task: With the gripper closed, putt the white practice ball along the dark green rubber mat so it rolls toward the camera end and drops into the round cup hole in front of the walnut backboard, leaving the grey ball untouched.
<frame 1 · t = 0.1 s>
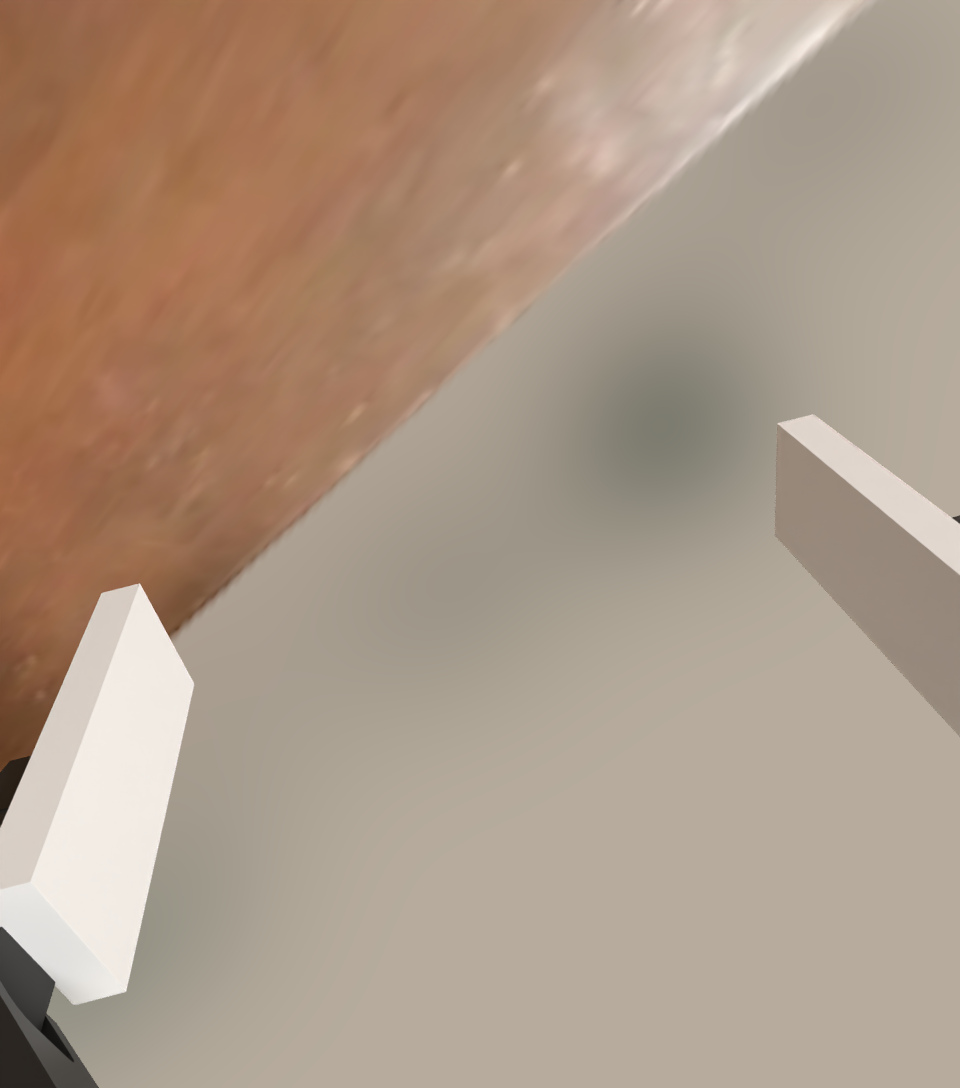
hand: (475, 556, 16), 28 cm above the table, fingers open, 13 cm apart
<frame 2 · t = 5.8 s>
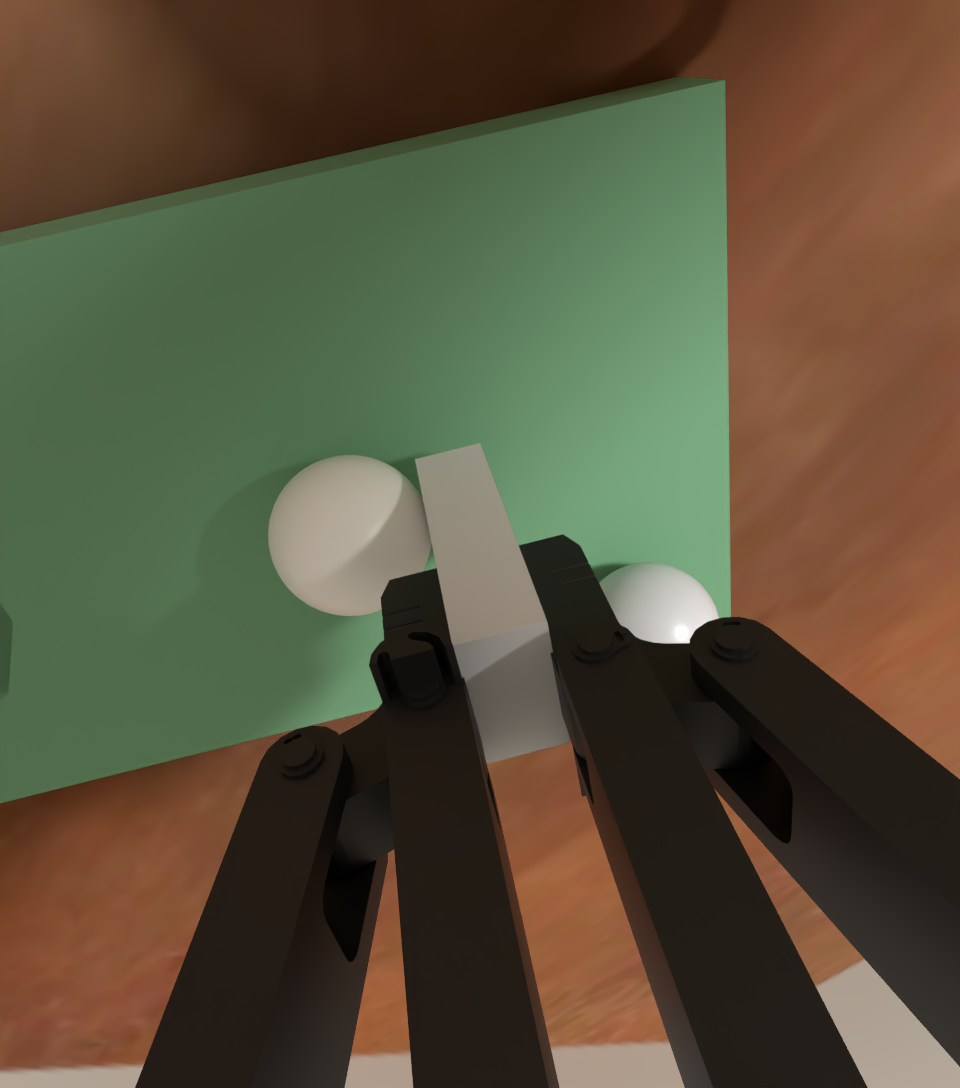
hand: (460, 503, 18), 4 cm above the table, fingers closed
ball: (351, 535, 17), point 4 cm above the table, tilted 48°, touching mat
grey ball: (649, 631, 20), point 4 cm above the table, touching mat
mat: (187, 490, 21), on the table
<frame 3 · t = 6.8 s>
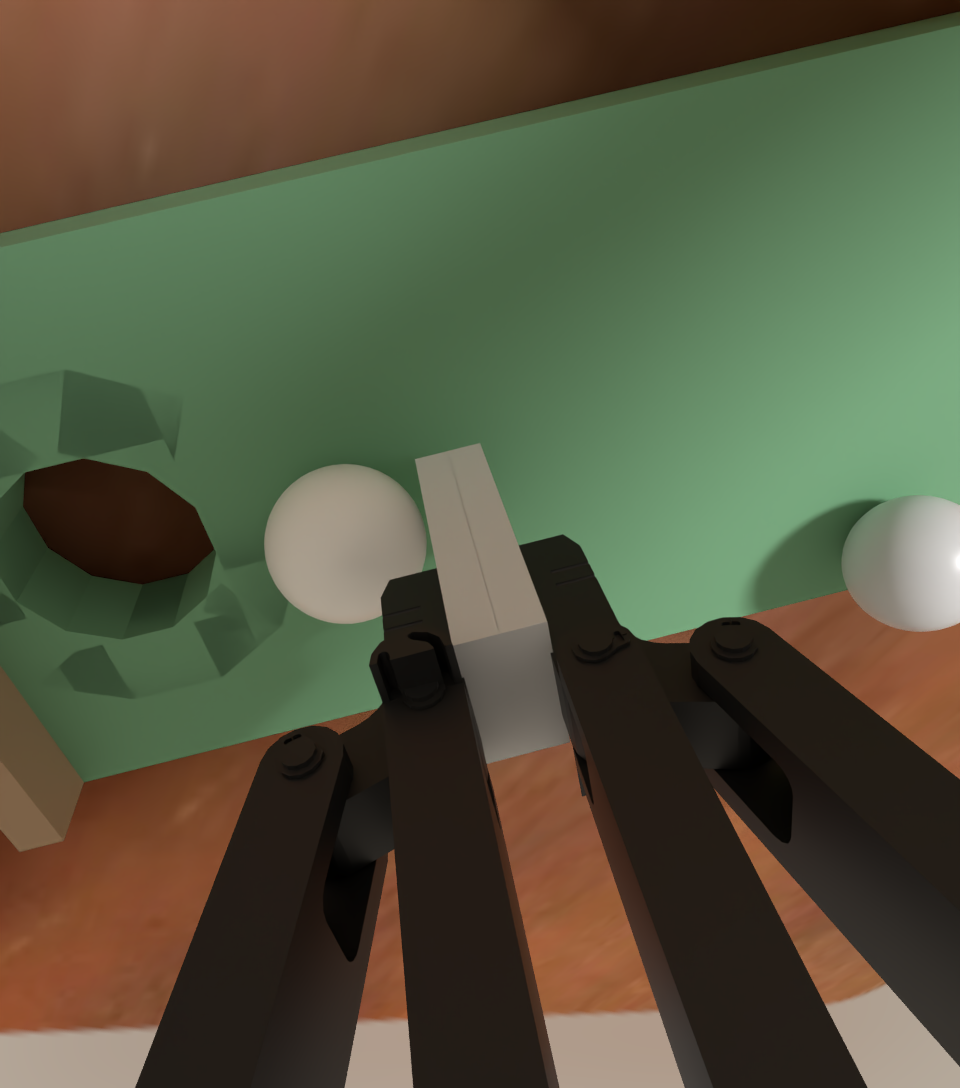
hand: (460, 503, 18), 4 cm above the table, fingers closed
ball: (346, 543, 18), point 4 cm above the table, tilted 74°, touching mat
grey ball: (916, 563, 21), point 4 cm above the table, touching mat
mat: (453, 426, 21), on the table
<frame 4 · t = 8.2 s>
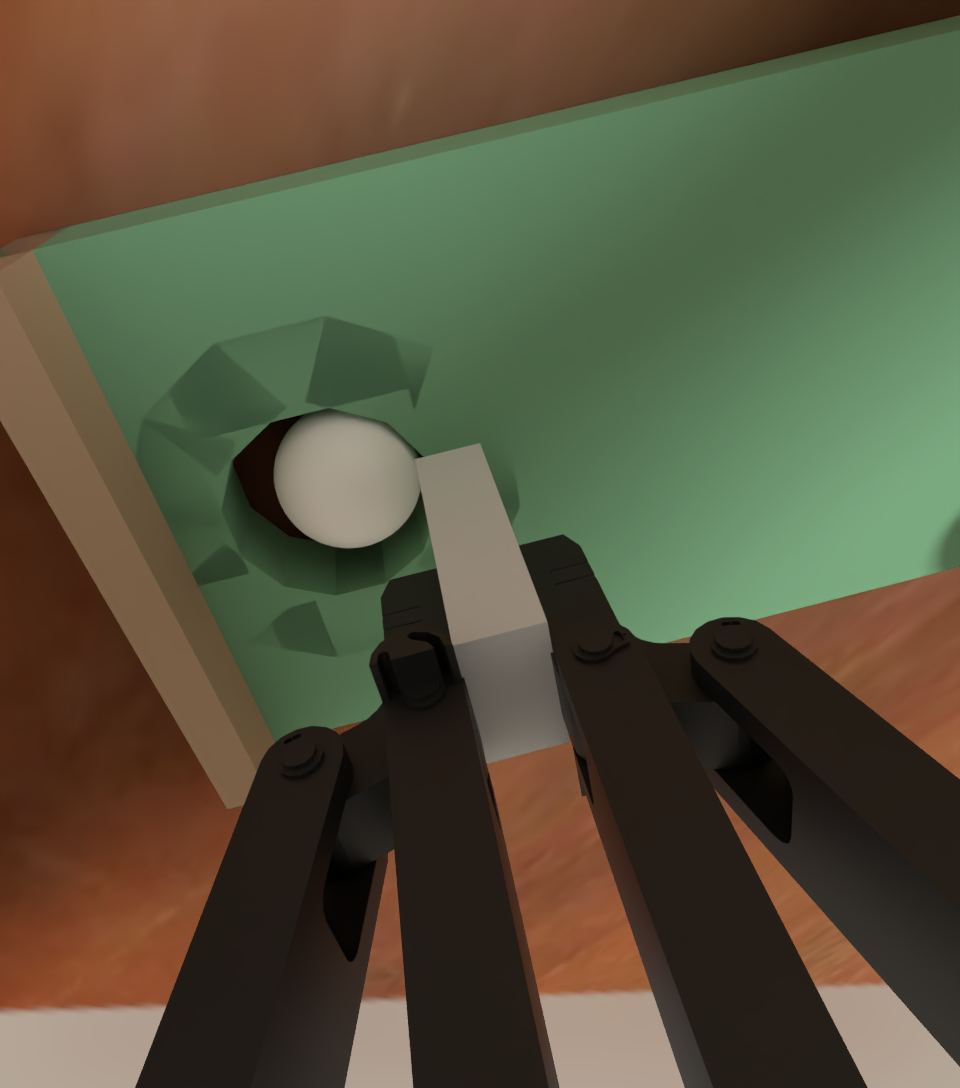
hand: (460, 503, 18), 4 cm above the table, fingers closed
ball: (348, 475, 19), point 2 cm above the table, tilted 102°
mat: (654, 383, 21), on the table
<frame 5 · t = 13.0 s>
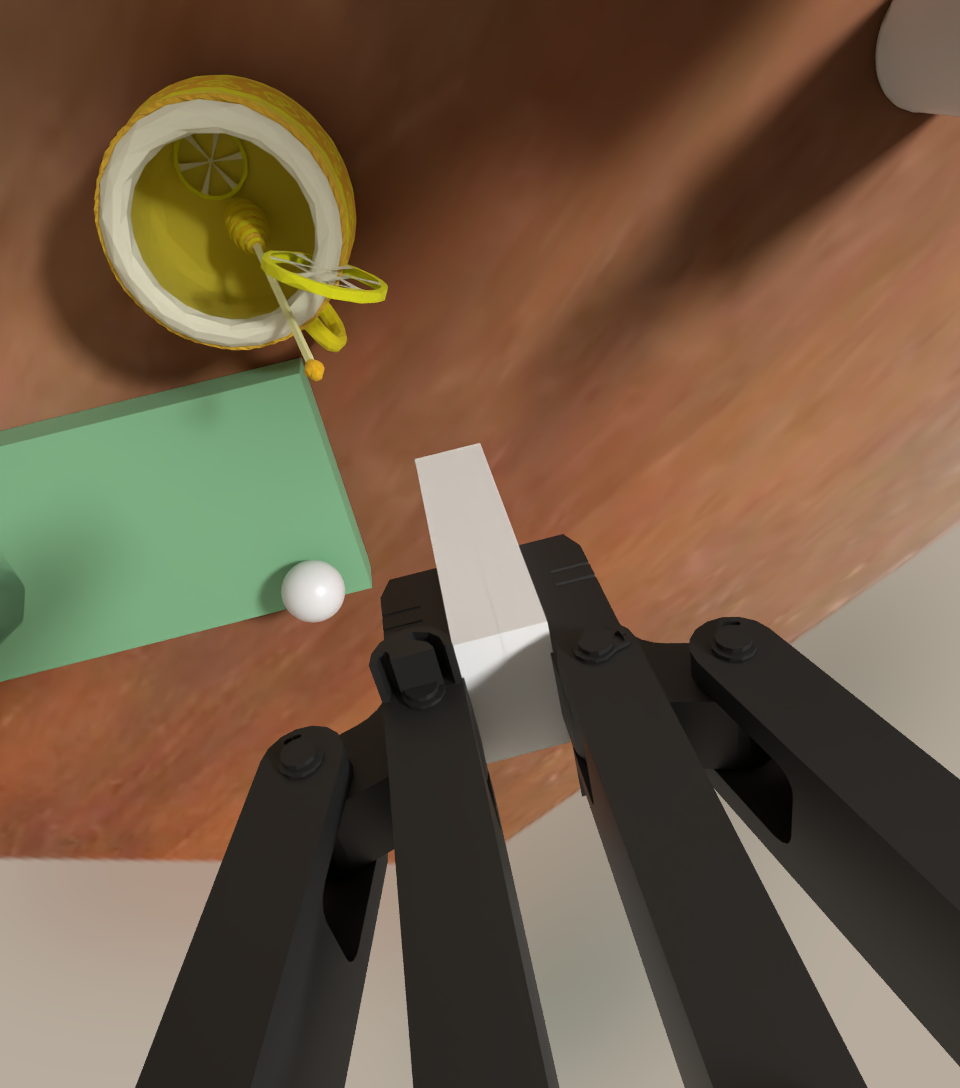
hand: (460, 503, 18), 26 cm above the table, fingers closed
mug: (256, 221, 38), on the table
bottle: (935, 36, 39), on the table
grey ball: (313, 591, 45), point 4 cm above the table, touching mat
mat: (104, 528, 45), on the table
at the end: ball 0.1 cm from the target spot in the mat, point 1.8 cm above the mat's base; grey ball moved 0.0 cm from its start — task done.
